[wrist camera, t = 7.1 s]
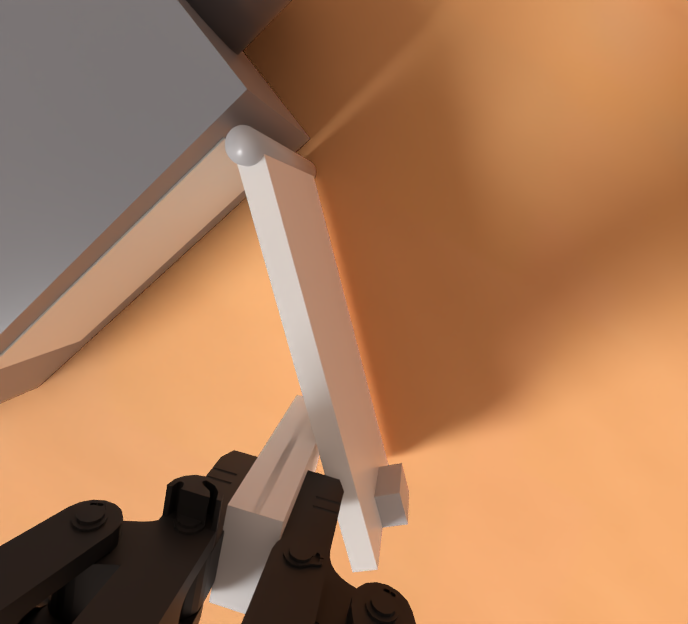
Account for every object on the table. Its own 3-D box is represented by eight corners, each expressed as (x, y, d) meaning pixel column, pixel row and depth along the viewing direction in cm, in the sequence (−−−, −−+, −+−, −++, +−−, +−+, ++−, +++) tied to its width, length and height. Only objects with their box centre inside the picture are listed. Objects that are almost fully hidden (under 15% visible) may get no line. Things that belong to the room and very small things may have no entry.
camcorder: (39, 387, 23) (-151, 470, 15) (-97, 227, 22) (-365, 230, 15) (375, 81, 18) (343, -27, 10) (208, -138, 17) (42, -425, 9)
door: (410, 461, 20) (406, 573, 14) (370, 467, 20) (348, 580, 14) (331, 150, 18) (283, 110, 12) (288, 163, 18) (220, 131, 12)
